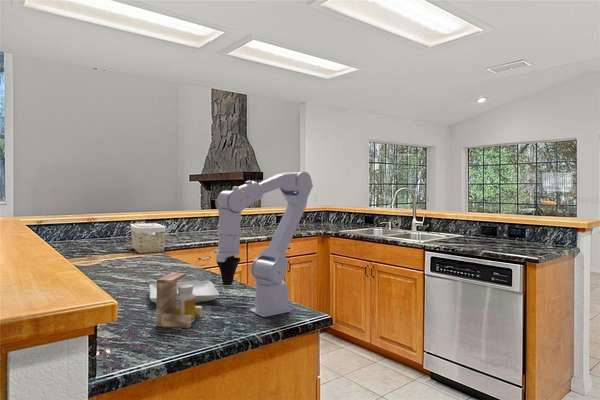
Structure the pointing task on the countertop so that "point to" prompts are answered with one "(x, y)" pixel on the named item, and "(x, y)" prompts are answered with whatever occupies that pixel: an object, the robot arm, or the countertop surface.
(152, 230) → the storage basket
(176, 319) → the socket station
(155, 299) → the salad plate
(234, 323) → the countertop surface
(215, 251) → the robot arm
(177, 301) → the supplement bottle
